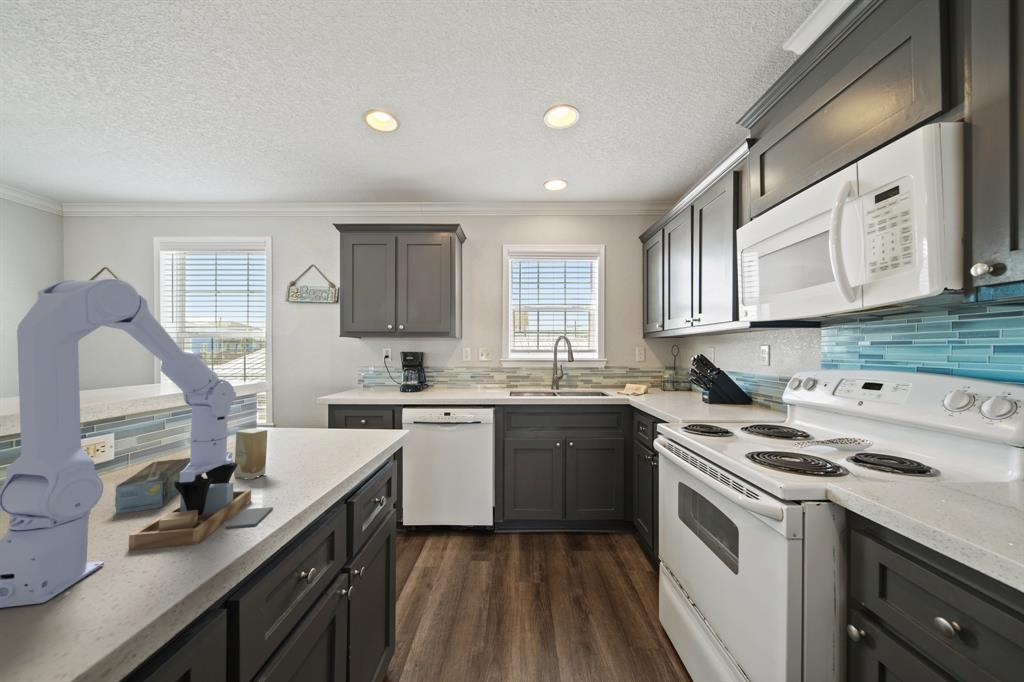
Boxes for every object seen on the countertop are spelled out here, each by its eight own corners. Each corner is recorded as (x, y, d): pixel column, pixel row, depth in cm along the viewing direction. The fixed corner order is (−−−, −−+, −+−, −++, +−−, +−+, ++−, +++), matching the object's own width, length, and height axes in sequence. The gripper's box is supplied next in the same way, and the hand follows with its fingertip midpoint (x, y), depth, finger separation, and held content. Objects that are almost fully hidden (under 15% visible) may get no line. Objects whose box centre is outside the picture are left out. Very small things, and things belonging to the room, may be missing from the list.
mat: (255, 525, 71) (255, 523, 71) (225, 528, 70) (225, 526, 70) (272, 509, 79) (272, 507, 79) (245, 511, 78) (245, 509, 78)
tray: (198, 543, 65) (198, 529, 65) (128, 550, 62) (129, 535, 63) (250, 500, 84) (251, 489, 84) (198, 504, 81) (199, 493, 82)
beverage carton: (111, 515, 76) (113, 482, 77) (150, 486, 94) (151, 459, 94) (163, 508, 80) (164, 477, 80) (191, 481, 97) (192, 455, 97)
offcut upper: (188, 528, 66) (189, 517, 66) (158, 532, 65) (159, 520, 65) (197, 521, 69) (197, 510, 69) (168, 524, 68) (169, 513, 68)
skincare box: (233, 477, 99) (234, 431, 100) (248, 472, 103) (250, 428, 104) (251, 480, 97) (252, 432, 98) (266, 475, 102) (268, 429, 102)
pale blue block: (226, 517, 75) (227, 486, 76) (179, 521, 74) (180, 489, 74) (232, 512, 78) (233, 482, 78) (187, 515, 76) (188, 485, 76)
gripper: (211, 446, 70) (209, 520, 70) (248, 430, 84) (246, 492, 84) (167, 448, 69) (164, 524, 68) (212, 432, 83) (210, 495, 82)
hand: (207, 507), depth 76 cm, fingers open, 7 cm apart
